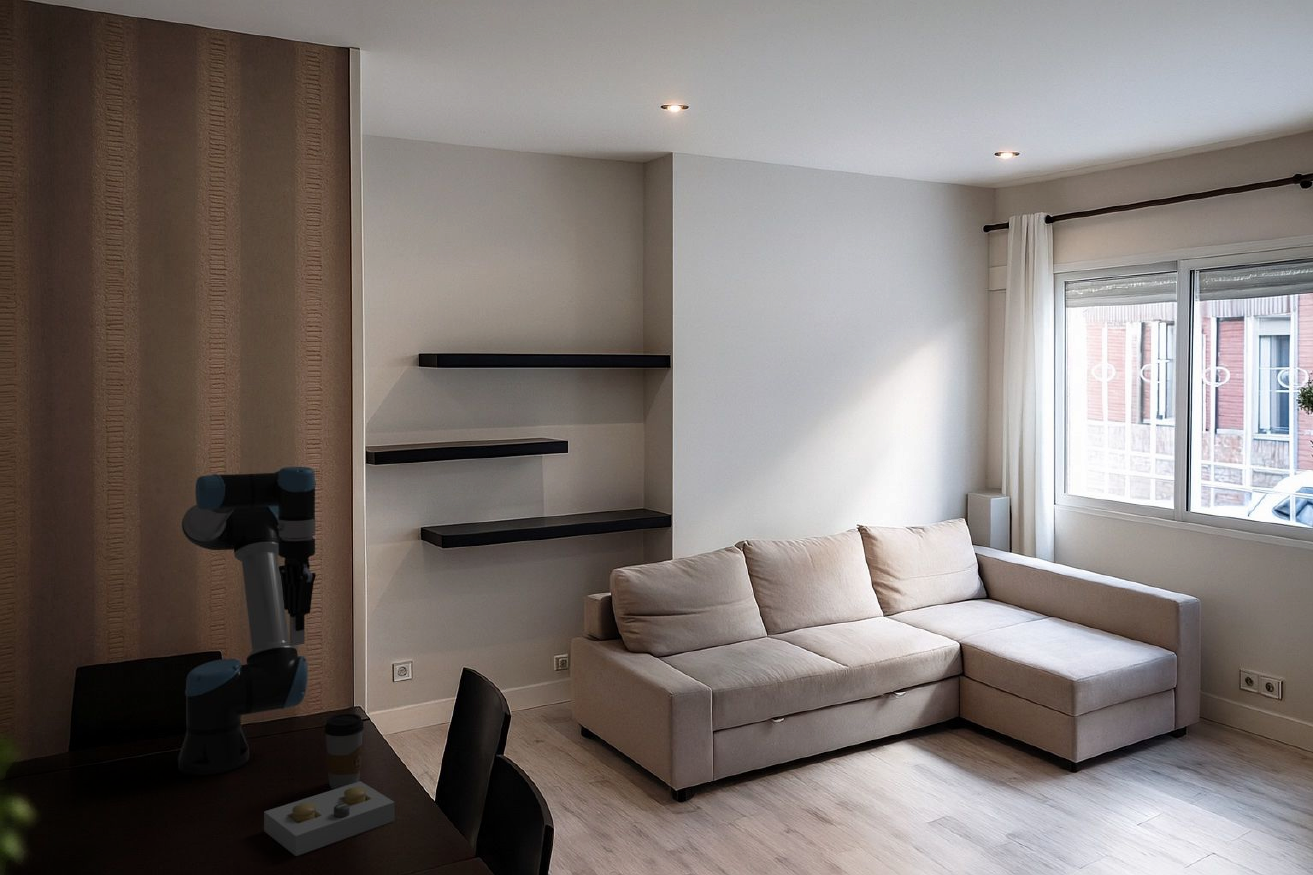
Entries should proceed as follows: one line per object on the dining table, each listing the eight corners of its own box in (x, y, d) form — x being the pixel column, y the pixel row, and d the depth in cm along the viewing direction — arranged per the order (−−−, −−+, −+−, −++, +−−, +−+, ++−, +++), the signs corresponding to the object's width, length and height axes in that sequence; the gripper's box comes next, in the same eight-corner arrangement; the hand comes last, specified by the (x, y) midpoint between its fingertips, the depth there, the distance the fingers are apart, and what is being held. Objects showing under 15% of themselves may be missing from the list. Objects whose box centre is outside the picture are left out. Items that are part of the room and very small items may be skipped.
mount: (264, 830, 190) (264, 802, 189) (360, 799, 205) (360, 772, 205) (296, 856, 180) (295, 826, 180) (394, 820, 195) (394, 793, 195)
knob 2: (340, 809, 196) (340, 791, 196) (359, 803, 199) (359, 784, 199) (350, 816, 193) (350, 797, 193) (370, 810, 196) (370, 791, 196)
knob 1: (288, 827, 188) (288, 807, 188) (309, 820, 192) (309, 800, 191) (298, 834, 185) (298, 815, 185) (319, 827, 188) (319, 808, 188)
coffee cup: (351, 794, 207) (351, 727, 206) (317, 790, 209) (317, 724, 208) (370, 779, 215) (370, 714, 214) (337, 775, 217) (337, 711, 216)
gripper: (266, 535, 209) (267, 640, 210) (293, 543, 200) (293, 653, 201) (299, 532, 214) (300, 634, 215) (327, 540, 205) (327, 647, 206)
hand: (297, 643), depth 208 cm, fingers closed
